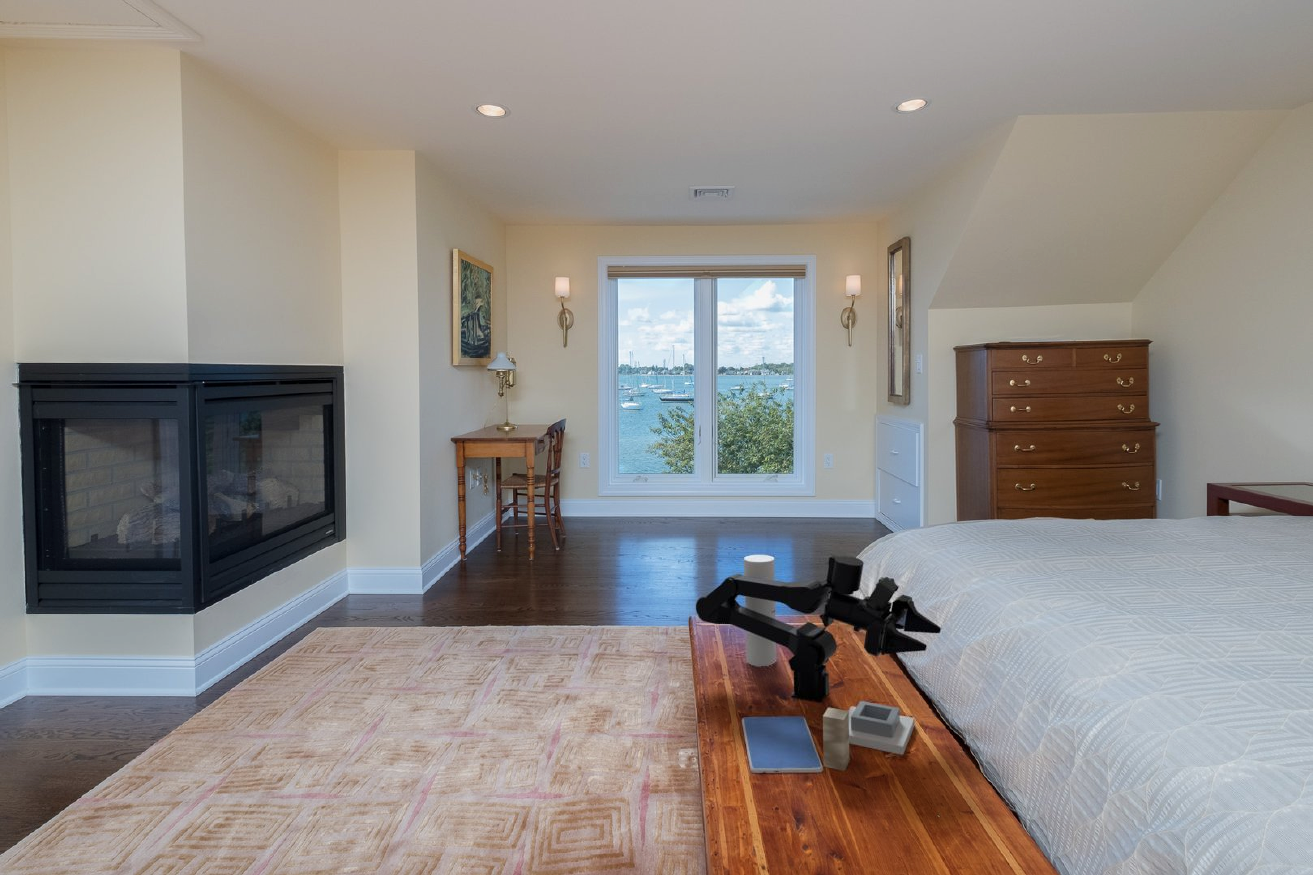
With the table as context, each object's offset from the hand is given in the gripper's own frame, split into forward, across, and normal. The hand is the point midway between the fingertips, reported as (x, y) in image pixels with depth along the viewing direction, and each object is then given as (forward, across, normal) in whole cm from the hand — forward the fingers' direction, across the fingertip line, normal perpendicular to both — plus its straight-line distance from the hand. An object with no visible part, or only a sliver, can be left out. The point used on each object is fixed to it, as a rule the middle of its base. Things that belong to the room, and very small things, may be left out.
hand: (933, 638), depth 136 cm
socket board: (-5, -10, +18) cm, 21 cm away
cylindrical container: (-39, +9, +25) cm, 48 cm away
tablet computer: (-18, -24, +20) cm, 36 cm away
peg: (-7, -24, +17) cm, 30 cm away
